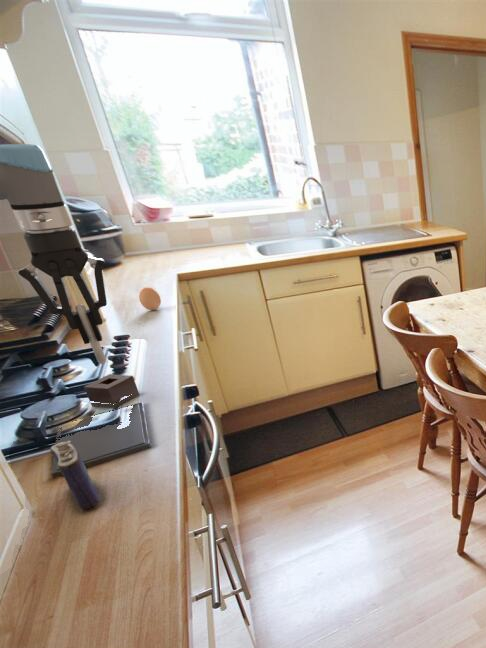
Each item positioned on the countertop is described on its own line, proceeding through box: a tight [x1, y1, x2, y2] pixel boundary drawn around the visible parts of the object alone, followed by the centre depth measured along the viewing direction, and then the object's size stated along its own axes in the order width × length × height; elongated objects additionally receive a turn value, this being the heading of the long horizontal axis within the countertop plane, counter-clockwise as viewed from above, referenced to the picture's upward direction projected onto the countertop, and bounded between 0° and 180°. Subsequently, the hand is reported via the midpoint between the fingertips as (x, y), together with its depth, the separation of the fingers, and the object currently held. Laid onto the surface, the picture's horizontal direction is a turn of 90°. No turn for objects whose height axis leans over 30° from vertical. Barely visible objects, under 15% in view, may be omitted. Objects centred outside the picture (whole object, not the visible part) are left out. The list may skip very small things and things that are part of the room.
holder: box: [83, 373, 140, 409], centre depth 105 cm, size 6×6×5 cm
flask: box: [50, 440, 101, 512], centre depth 75 cm, size 9×3×11 cm, turn 50°
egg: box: [138, 286, 162, 311], centre depth 161 cm, size 6×6×8 cm
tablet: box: [50, 401, 152, 479], centre depth 92 cm, size 20×14×1 cm
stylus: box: [75, 303, 107, 365], centre depth 100 cm, size 2×2×14 cm
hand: (93, 340), depth 100 cm, fingers closed on stylus, 1 cm apart
